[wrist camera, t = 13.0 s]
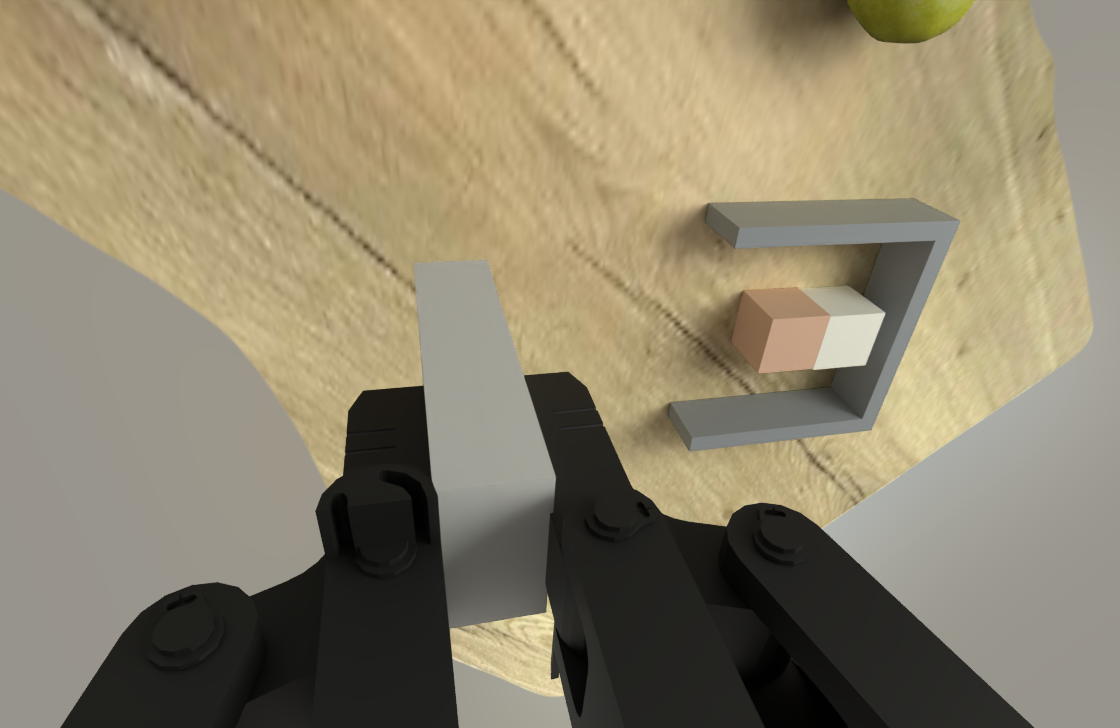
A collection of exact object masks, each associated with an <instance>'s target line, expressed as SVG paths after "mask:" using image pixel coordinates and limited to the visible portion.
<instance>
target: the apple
mask: <svg viewBox="0 0 1120 728" xmlns="http://www.w3.org/2000/svg"><path fill="white" fill-rule="evenodd" d="M974 1H975V0H847V3H848V5H849V7H850V9H851V11H852V12H853V14H854V16H855V17H856V19H857V20H858V22H859V23H860V24H861V26H862V27H863V28H864V29H865V30H866V32H867V33H868V34H869V35H870V36H872V37H873V38H875V39H876V40H878V41H882V42H892V43H920V42H924V41H927V40H929V39H931V38H933V37H935V36H938V35H940V34H942V33H944V32H946V31H947V30H949V29H950V28H951V27H953V26H954V25H955V24H956V23H957V22H958V21H959V20H960V19H961V18H962V17H963V16H964V15H965V14H966V12H967V11H968V10H969V8H970V7H971V5H972V4H973V2H974Z"/></svg>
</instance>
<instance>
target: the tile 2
mask: <svg viewBox="0 0 1120 728" xmlns="http://www.w3.org/2000/svg"><path fill="white" fill-rule="evenodd" d="M799 289H800V290H801V291H802V292H804V293H805V294H806V295H807V296H808V297H810V298H811V299H812V300H813V301H814V302H816V303H817V304H818V305H819V306H820V307H821V308H823V309H824V310H825V311H826V312H827V313H829V314H830V315H831V317H830V320H829V323H828V326H827V329H826V332H825V334H824V337H823V340H822V343H821V346H820V349H819V352H818V355H817V358H816V361H815V364H814V367H813V369H812V370H818V369H829V368H839V367H850V366H861V365H866V362H867V360H868V357H869V355H870V352H871V349H872V347H873V344H874V342H875V339H876V337H877V334H878V331H879V329H880V326H881V324H882V321H883V318H884V316H885V312H884V311H882V310H881V309H880V308H878V307H877V306H876V305H874V304H873V303H872V302H870V301H869V300H868V299H866V298H865V297H863V296H862V295H861V294H859V293H858V292H857V291H855V290H854V289H853V288H851V287H850V286H833V287H816V288H799Z"/></svg>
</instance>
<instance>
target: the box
mask: <svg viewBox="0 0 1120 728" xmlns="http://www.w3.org/2000/svg"><path fill="white" fill-rule="evenodd" d="M705 223H706V224H707V225H709V226H710V227H711V228H712V229H713V230H714V231H715V232H717V233H718V234H719V235H720V236H721V237H722V238H723V239H725V240H726V241H727V242H728V243H729V244H730V245H731V246H733V247H734V248H735V249H739V248H763V247H788V246H813V245H837V244H862V243H882V246H881V248H880V251H879V254H878V257H877V259H876V262H875V265H874V268H873V270H872V273H871V276H870V279H869V282H868V284H867V287H866V290H865V293H864V295H863V297H865V298H866V299H868V300H869V301H870V302H872V303H873V304H874V305H876V306H877V307H878V308H880V309H881V310H882V311H884V312H885V316H884V318H883V321H882V324H881V326H880V329H879V331H878V334H877V337H876V339H875V342H874V344H873V347H872V349H871V352H870V355H869V357H868V360H867V362H866V365H861V366H850V367H839V368H837V370H836V373H835V375H834V378H833V381H832V384H831V386H830V387H825V388H815V389H804V390H794V391H784V392H774V393H763V394H753V395H743V396H733V397H722V398H712V399H702V400H692V401H681V402H671V403H670V407H669V413H668V417H669V418H670V420H671V422H672V423H673V425H674V427H675V428H676V430H677V432H678V433H679V435H680V437H681V438H682V440H683V442H684V443H685V445H686V447H687V448H688V450H689V451H698V450H706V449H715V448H723V447H732V446H741V445H749V444H758V443H766V442H775V441H783V440H792V439H801V438H809V437H818V436H826V435H835V434H843V433H852V432H860V431H869V430H872V427H873V425H874V423H875V420H876V418H877V416H878V413H879V411H880V409H881V406H882V404H883V402H884V399H885V397H886V394H887V392H888V390H889V387H890V385H891V383H892V380H893V378H894V376H895V373H896V371H897V369H898V366H899V364H900V362H901V359H902V357H903V355H904V352H905V350H906V348H907V345H908V343H909V341H910V338H911V336H912V334H913V331H914V329H915V326H916V324H917V322H918V319H919V317H920V315H921V312H922V310H923V308H924V305H925V303H926V301H927V298H928V296H929V294H930V291H931V289H932V287H933V284H934V282H935V280H936V277H937V275H938V273H939V270H940V268H941V265H942V263H943V261H944V258H945V256H946V254H947V251H948V249H949V247H950V244H951V242H952V240H953V237H954V235H955V233H956V230H957V228H958V226H959V223H960V220H958V219H956V218H954V217H952V216H950V215H948V214H946V213H944V212H941V211H939V210H937V209H935V208H933V207H931V206H929V205H927V204H925V203H923V202H921V201H919V200H917V199H914V198H912V199H868V200H824V201H780V202H736V203H709V205H708V210H707V215H706V220H705Z"/></svg>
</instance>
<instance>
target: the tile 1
mask: <svg viewBox="0 0 1120 728" xmlns="http://www.w3.org/2000/svg"><path fill="white" fill-rule="evenodd" d="M830 317H831V315H830V314H829V313H827V312H826V311H825V310H824V309H823V308H821V307H820V306H819V305H818V304H817V303H816V302H814V301H813V300H812V299H811V298H810V297H808V296H807V295H806V294H805V293H804V292H802V291H801V290H800V289H799V288H798V287H792V288H775V289H758V290H743V294H742V298H741V303H740V307H739V311H738V315H737V319H736V323H735V327H734V332H733V336H732V340H731V343H732V344H733V345H734V346H735V347H736V348H737V350H738V351H739V352H740V353H741V354H742V355H743V357H744V358H745V359H746V360H747V361H748V362H749V364H750V365H751V366H752V367H753V368H754V369H755V371H756V372H757V373H758V374H760V373H771V372H782V371H793V370H804V369H813V367H814V364H815V361H816V358H817V355H818V352H819V349H820V346H821V343H822V340H823V337H824V334H825V332H826V329H827V326H828V323H829V320H830Z"/></svg>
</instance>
